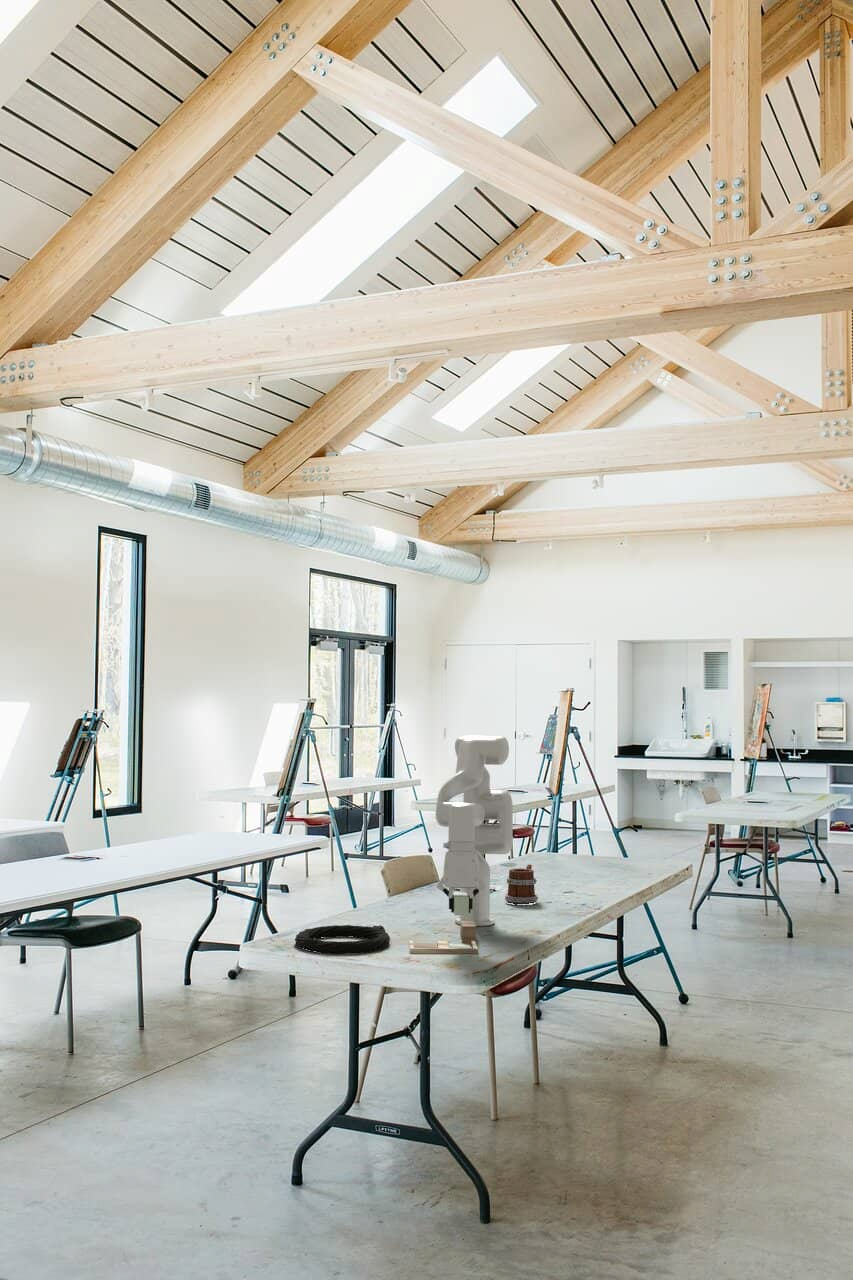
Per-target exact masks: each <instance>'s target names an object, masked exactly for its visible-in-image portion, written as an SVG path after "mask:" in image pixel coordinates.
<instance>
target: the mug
mask: <svg viewBox="0 0 853 1280" xmlns="http://www.w3.org/2000/svg"><path fill="white" fill-rule="evenodd" d="M532 867H533V866H532V864H527V866H526V868H511V869H509V871H508V877H507V878H506V883H507V884H508V885H507V886H508V887H507V894H505V898H504V901H506V903H507V902H508V903H513V904H529V903H534V902H536V903H537V901H538V899H539V897H538V896H537V895H536V890H535V889H536V888H535V884H537V881H538V880H537V879H536V877H535V876H534V875H535V873H534V872H535V870H533V869H532Z"/></svg>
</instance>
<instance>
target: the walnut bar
mask: <svg viewBox="0 0 853 1280" xmlns="http://www.w3.org/2000/svg"><path fill="white" fill-rule="evenodd" d="M459 925H460V931H459V932H460V936H459V937H461V938H460V940H462V941H461V944H471V940H475V943H477V926H476V925H475V923H474V921H461V923H460V924H459Z"/></svg>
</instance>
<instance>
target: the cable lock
mask: <svg viewBox="0 0 853 1280" xmlns="http://www.w3.org/2000/svg"><path fill="white" fill-rule="evenodd" d="M336 936H353V937H352V938H359V937H363V938H362V939H360V940H355V941H353V940H352V941H350V940H349V941H348V940H347V941H336V940H331V941H330V940H329V941H328V940H320V939H322V938H321V937H329V938H337V937H336ZM314 938H320V939H315V940H314ZM365 938H368V939H365ZM390 940H391V937H390V935H389V933H388V932H386V929H385V927H384V925H381V924H380V925H373V926H368V925H367V926H362V925H353V924H352V925H351V924H347V925H346V924H344V925H336V924H335V925H326V926H317V927H312V928H306V929H304V930H302V931H299V932H298V934H296V935H295V938H294V942H295V945H296V946H297V947H298V946H299V947H300V948H299V947H298V948H299V949H302V948H304V949H307V950H310V951H309V952H312V951H316V952H321V953H320V954H327V953H331V954H330V955H346V954H345V953H358V954H362V953H361V952H367V953H371V952H370V951H373V952H376V951H375V950H377V951H380V950H379V949H381V950H383V949H384V948H386V947H387V946H388V945H389V944H390ZM304 949H303V950H304ZM316 952H315V953H316Z"/></svg>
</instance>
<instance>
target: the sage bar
mask: <svg viewBox="0 0 853 1280" xmlns="http://www.w3.org/2000/svg"><path fill="white" fill-rule="evenodd" d="M453 898H454V912H453V915H454V916H460V915H469V897H468V894H467V893H460V892H453Z"/></svg>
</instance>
